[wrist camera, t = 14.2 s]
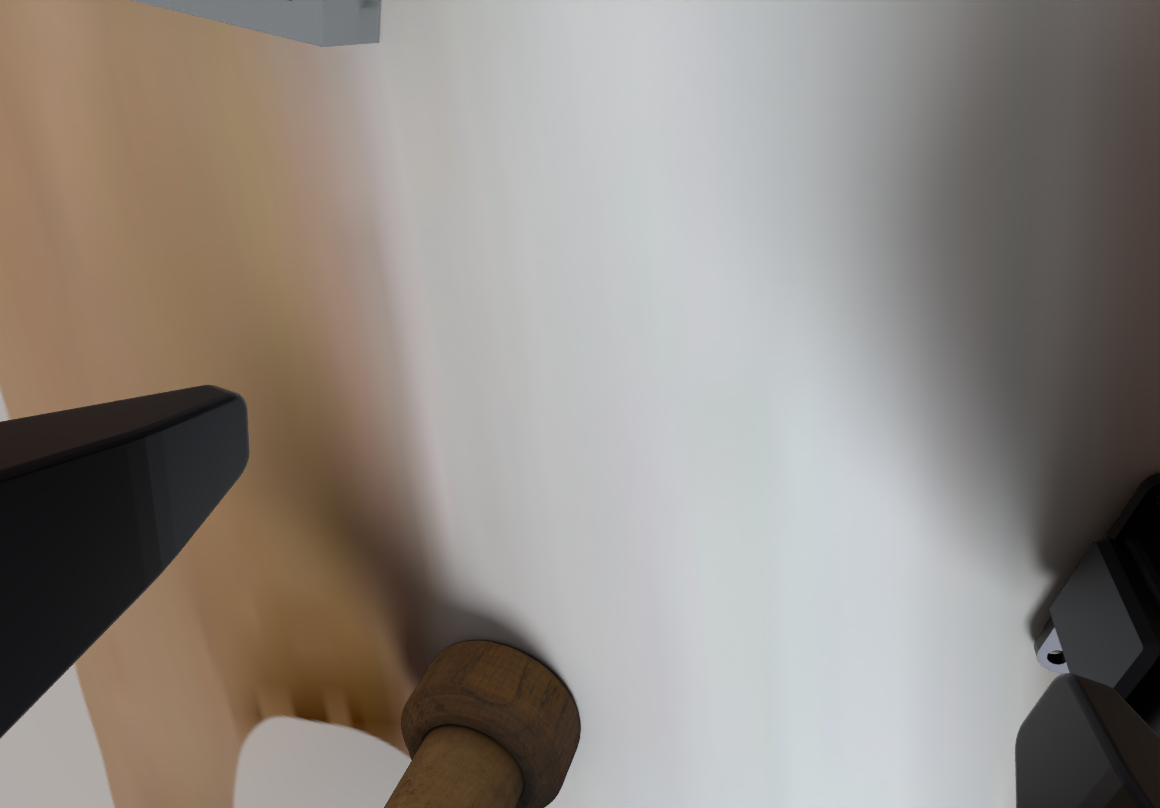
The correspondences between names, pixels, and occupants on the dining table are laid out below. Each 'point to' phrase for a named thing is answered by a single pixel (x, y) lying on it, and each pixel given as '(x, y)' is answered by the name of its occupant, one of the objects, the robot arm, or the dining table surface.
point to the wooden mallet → (486, 732)
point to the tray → (291, 18)
